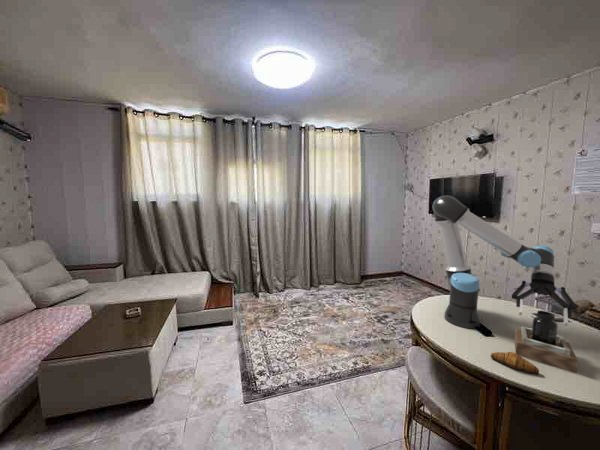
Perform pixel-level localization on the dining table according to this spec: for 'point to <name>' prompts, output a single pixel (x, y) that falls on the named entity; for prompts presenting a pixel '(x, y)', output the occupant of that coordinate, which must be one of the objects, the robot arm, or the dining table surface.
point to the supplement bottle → (544, 328)
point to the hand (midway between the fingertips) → (542, 318)
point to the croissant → (514, 361)
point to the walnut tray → (545, 350)
